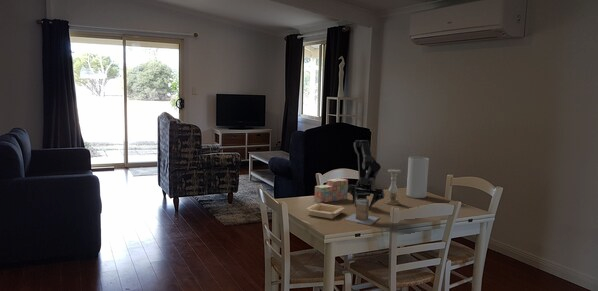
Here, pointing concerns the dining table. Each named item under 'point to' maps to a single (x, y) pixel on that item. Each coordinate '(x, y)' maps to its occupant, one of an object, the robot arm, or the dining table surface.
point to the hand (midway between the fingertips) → (361, 205)
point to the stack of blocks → (331, 191)
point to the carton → (324, 210)
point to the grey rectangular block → (362, 209)
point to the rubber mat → (367, 221)
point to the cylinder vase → (417, 177)
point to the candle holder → (393, 188)
